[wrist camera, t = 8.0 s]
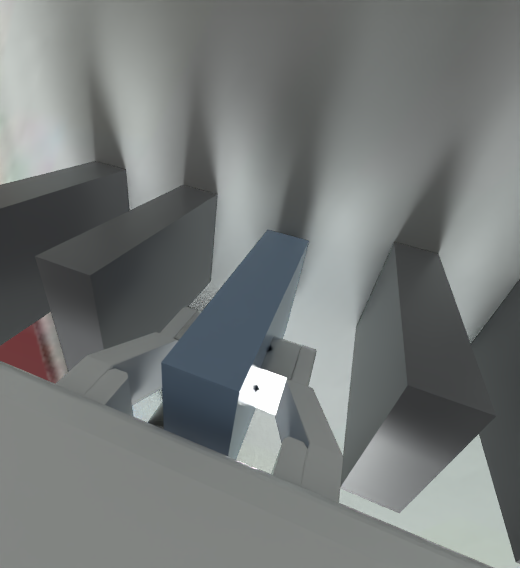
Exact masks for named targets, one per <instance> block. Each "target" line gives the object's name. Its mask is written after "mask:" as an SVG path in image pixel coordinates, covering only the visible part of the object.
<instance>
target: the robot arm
mask: <svg viewBox="0 0 520 568" xmlns="http://www.w3.org/2000/svg"><path fill="white" fill-rule="evenodd" d="M201 312H202V311H200V310H196V309H193V308H191V307H188V306H185V307H183V308H182V309H181V310H180V311H179V312H178V313H177V315H176V316H175V317H174V318H173V319H172V320H171V321H170V322H169V323H168V324H167V326H166V327H165V328H164V329H163V330H162V331H161V332H160V333H157V332H154V333H151V334H148V335H145V336H142V337H140V338H137V339H134V340H131V341H128V342H125V343H122V344H119V345H116V346H113V347H110V348H108V349H105V350H102V351H99V352H96V353H93V354H90V355H87V356H86V357H85V358H84V359H82V360H81V361H80V362H79V363H78V364H77V365H76V366H75V367H74V368H72V369H71V370H70V371H69V372H68V373H67V374H66V375H65V376H64V377H62V378H61V379H60V380H59V381H58V382H57V383H56V384H54V383H52V382H49V381H47V380H44V379H42V378H40V377H37V376H35V375H32V374H30V373H28V372H25V371H23V370H21V369H18V368H16V367H13V366H11V365H8V364H6V363H4V362H1V361H0V568H493V567H491V566H489V565H486V564H484V563H481V562H479V561H477V560H474V559H472V558H470V557H467V556H465V555H462V554H460V553H458V552H455V551H453V550H450V549H448V548H446V547H443V546H441V545H438V544H436V543H434V542H431V541H429V540H427V539H424V538H422V537H419V536H417V535H415V534H412V533H410V532H407V531H405V530H403V529H400V528H398V527H396V526H393V525H391V524H388V523H386V522H384V521H381V520H379V519H376V518H374V517H372V516H369V515H367V514H364V513H362V512H360V511H357V510H355V509H353V508H350V507H348V506H345V505H343V504H341V503H339V495H340V485H341V474H342V464H343V455H342V453H341V451H340V448H339V446H338V444H337V442H336V439H335V437H334V435H333V433H332V430H331V428H330V426H329V424H328V422H327V419H326V417H325V415H324V413H323V410H322V408H321V406H320V404H319V401H318V399H317V397H316V395H315V392H314V390H313V388H311V387H308V386H309V381H310V377H311V373H312V368H313V364H314V360H315V356H316V349H313V348H310V347H307V346H304V345H302V346H301V345H300V344H297V343H294V342H291V341H288V340H285V339H282V338H279V337H276V336H274V337H273V339H272V341H271V344H270V348H269V352H267V353H266V355H265V358H264V360H263V362H262V365H261V367H260V370H259V375H258V380H257V388H256V390H255V393H254V398H253V402H252V406H255V407H257V408H260V409H262V410H264V411H267V412H269V413H272V414H274V415H275V418H276V422H277V427H278V431H279V435H280V439H281V443H282V445H281V448H280V451H279V453H278V456H277V459H276V462H275V465H274V468H273V470H272V473H271V474H269V473H267V472H264V471H262V470H259V469H257V468H255V467H252V466H250V465H247V464H245V463H243V462H240V461H238V460H235V459H233V458H231V457H228V456H226V455H224V454H221V453H219V452H216V451H214V450H212V449H209V448H207V447H204V446H202V445H200V444H197V443H195V442H192V441H190V440H188V439H185V438H183V437H180V436H178V435H176V434H173V433H171V432H169V431H166V430H164V429H161V428H159V427H157V426H154V425H152V424H149V423H147V422H145V421H142V420H140V419H138V418H135V417H133V410H132V405H134V404H136V403H138V402H139V401H141V400H143V399H144V398H146V397H148V396H150V395H151V394H153V393H155V392H157V391H158V390H160V389H162V372H161V362H162V361H163V359H164V358H165V357H166V356H167V354H168V353H169V352H170V351H171V349H172V348H173V347H174V346H175V344H176V343H177V342H178V341H179V339H180V338H181V337H182V336H183V334H184V333H185V332H186V331H187V330H188V328H189V327H190V326H191V325H192V323H193V322H194V321H195V320H196V318H197V317H198V316H199V315H200V313H201Z"/></svg>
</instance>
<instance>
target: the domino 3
mask: <svg viewBox="0 0 520 568" xmlns="http://www.w3.org/2000/svg"><path fill="white" fill-rule="evenodd" d="M308 243H309V241H308V240H304V239H301V238H297V237H293V236H290V235H286V234H282V233H279V232H275V231H271V230H267V231H266V232H265V234H264V235H263V236H262V237H261V239H260V240H259V241H258V242H257V244H256V245H255V246H254V247H253V249H252V250H251V251H250V252H249V254H248V255H247V256H246V257H245V259H244V260H243V261H242V262H241V264H240V265H239V266H238V267H237V268H236V270H235V271H234V272H233V273H232V275H231V276H230V277H229V278H228V280H227V281H226V282H225V283H224V285H223V286H222V287H221V288H220V290H219V291H218V292H217V293H216V295H215V296H214V297H213V298H212V300H211V301H210V302H209V303H208V305H207V306H206V307H205V308H204V310H203V311H202V312H201V313H200V315H199V316H198V317H197V318H196V320H195V321H194V322H193V323H192V325H191V326H190V327H189V328H188V330H187V331H186V332H185V333H184V334H183V336H182V337H181V338H180V339H179V341H178V342H177V343H176V344H175V346H174V347H173V348H172V349H171V351H170V352H169V353H168V354H167V356H166V357H165V358H164V359H163V361H162V362H161V372H162V396H163V421H164V430H166V431H169V432H171V433H173V434H176V435H178V436H180V437H183V438H185V439H188V440H190V441H192V442H195V443H197V444H200V445H202V446H204V447H207V448H209V449H212V450H214V451H216V452H219V453H221V454H224V455H226V456H228V457H231V458H233V459H235V460H236V458H237V455H238V453H239V450H240V447H241V445H242V442H243V440H244V437H245V434H246V432H247V429H248V427H249V424H250V422H251V419H252V416H253V414H254V411H255V409H256V407H255V406H252V402H253V398H254V393H255V390H256V388H257V380H258V375H259V370H260V367H261V365H262V362H263V360H264V358H265V355H266V353H267V352H269V348H270V344H271V341H272V339H273V337H274V336H276V337H279V338H282V339H283V336H284V333H285V331H286V327H287V323H288V320H289V316H290V312H291V308H292V304H293V301H294V297H295V293H296V289H297V285H298V282H299V278H300V274H301V270H302V266H303V262H304V259H305V255H306V251H307V247H308Z"/></svg>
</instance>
